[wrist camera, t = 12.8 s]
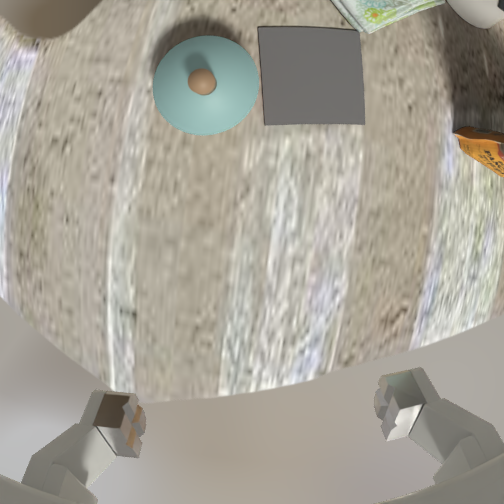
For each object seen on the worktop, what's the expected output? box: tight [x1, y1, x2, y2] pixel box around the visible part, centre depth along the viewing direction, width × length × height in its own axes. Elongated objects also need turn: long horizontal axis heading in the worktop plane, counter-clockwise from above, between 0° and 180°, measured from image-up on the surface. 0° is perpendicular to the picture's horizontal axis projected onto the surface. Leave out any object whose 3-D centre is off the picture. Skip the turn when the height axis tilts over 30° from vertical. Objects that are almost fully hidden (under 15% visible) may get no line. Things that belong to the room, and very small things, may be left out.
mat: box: [258, 27, 365, 125], centre depth 38 cm, size 14×14×1 cm
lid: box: [153, 35, 259, 135], centre depth 32 cm, size 12×12×4 cm
